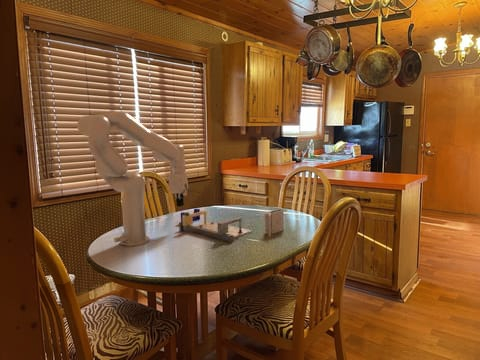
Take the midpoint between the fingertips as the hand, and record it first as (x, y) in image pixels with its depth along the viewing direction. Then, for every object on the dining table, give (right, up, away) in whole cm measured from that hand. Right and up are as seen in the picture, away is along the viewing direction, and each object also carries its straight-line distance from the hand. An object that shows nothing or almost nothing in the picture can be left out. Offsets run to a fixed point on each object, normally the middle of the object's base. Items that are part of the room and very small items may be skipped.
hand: (180, 205), depth 182 cm
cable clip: (+2, -10, +18) cm, 20 cm away
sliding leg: (+8, -11, +1) cm, 13 cm away
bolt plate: (+21, -12, -2) cm, 24 cm away
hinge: (+46, -12, -7) cm, 49 cm away
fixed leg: (+26, -12, -15) cm, 32 cm away
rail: (+14, -13, -11) cm, 22 cm away
